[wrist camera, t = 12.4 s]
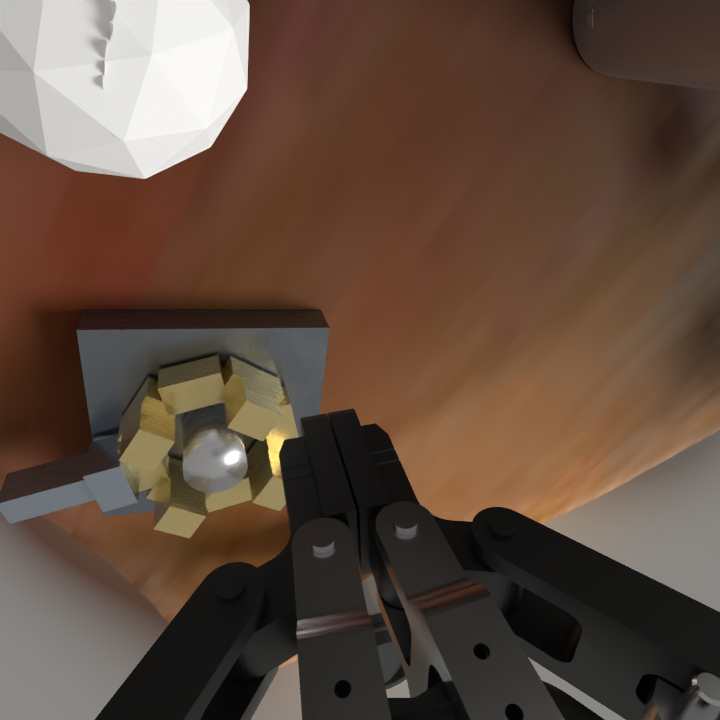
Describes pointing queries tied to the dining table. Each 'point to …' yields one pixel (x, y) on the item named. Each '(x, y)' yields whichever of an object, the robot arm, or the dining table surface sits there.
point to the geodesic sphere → (121, 79)
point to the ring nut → (150, 451)
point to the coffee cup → (382, 635)
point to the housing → (190, 343)
